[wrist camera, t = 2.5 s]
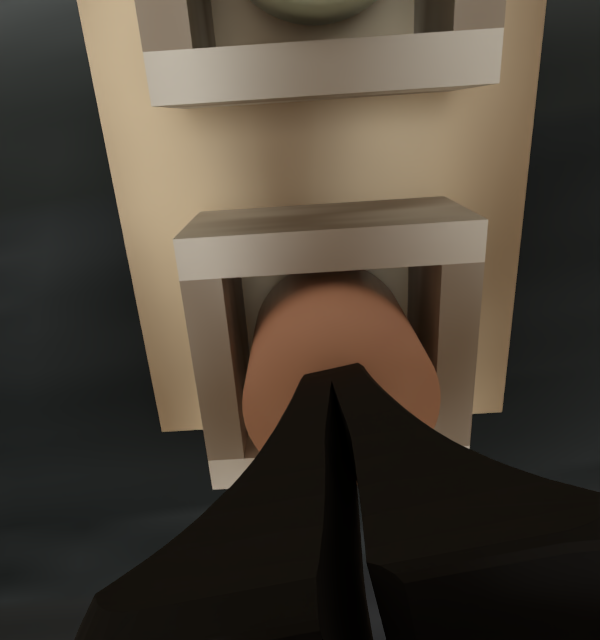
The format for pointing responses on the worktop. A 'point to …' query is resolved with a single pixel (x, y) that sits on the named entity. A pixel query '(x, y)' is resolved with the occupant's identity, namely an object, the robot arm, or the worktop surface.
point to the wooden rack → (316, 182)
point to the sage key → (313, 10)
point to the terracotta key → (333, 345)
